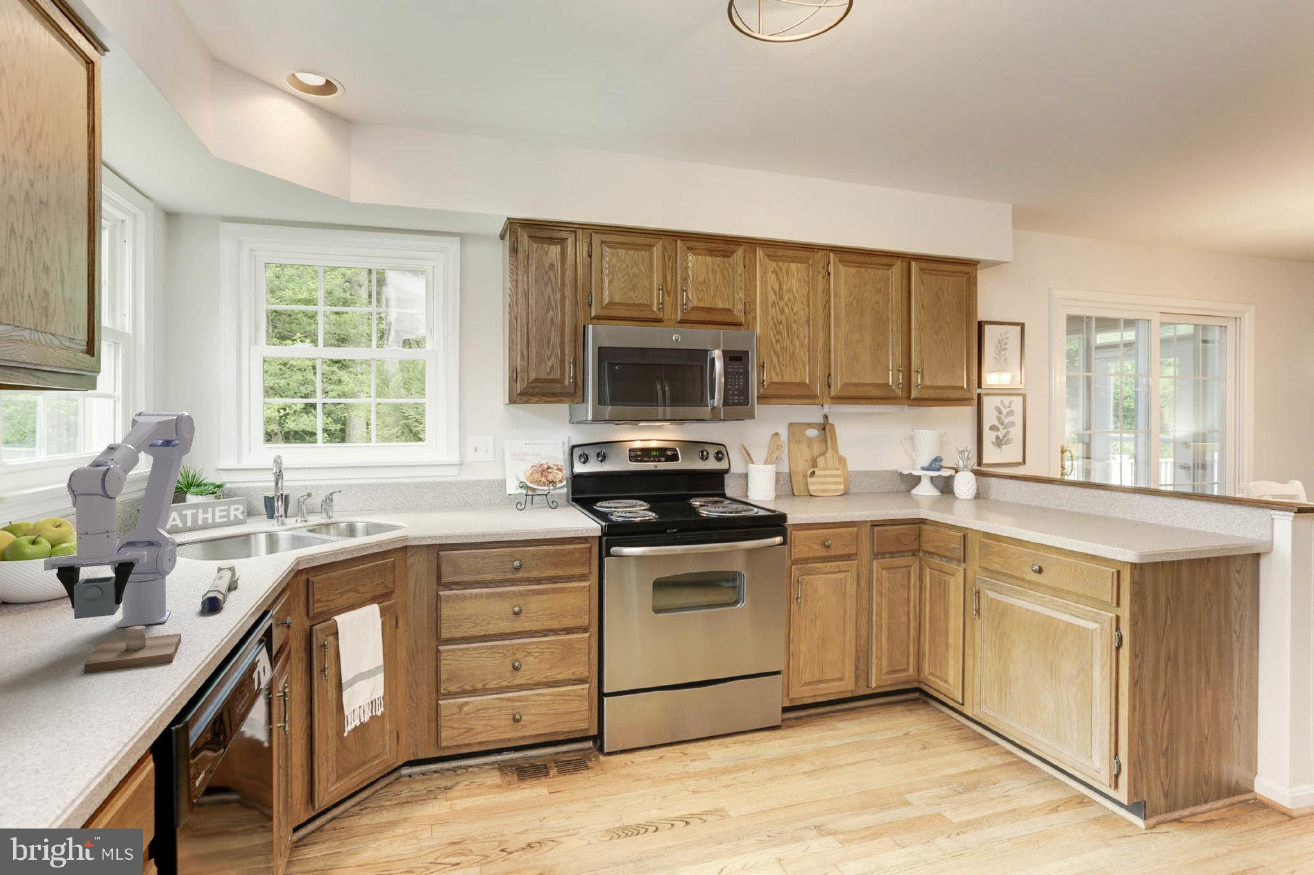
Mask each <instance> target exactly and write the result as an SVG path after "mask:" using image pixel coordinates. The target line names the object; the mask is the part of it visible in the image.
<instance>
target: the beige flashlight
mask: <svg viewBox="0 0 1314 875" xmlns="http://www.w3.org/2000/svg"><path fill="white" fill-rule="evenodd" d="M216 570H217V572H216V575H215V576H214V577H213V581H212V582H211V585H210V586H209V587H208V589H207V590H206V592H204V594H203V595H201V602H200V606H201V608H200V609H201V611H202V612H204V613H217V612H219V611H220V610H221V609H222V607H223V605H225V603H227V602H226V601H227V600H226V599H227V598H226V597H227V593H228V591H231V590H234V589H236V588H237V589H238V587H239V580H240V574H239V573H237V572H236V566H235V564H234V562H233V563H232V562H224V563H221V564H219V565H218V567H217V569H216Z"/></svg>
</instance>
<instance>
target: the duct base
mask: <svg viewBox="0 0 1314 875" xmlns="http://www.w3.org/2000/svg"><path fill="white" fill-rule="evenodd" d="M146 631H147V630H146V626H145V625H137V626H129V627H127V628H126V629H125V639H120V640H111V641H105V642H99V644H98V645H97V647H96V648H95V649H94V651H93V652H92V653H91V655H90V656H89V657H88V659H87V660H86V661H85V662H84V665H83V666H84V667H83V669H84V670H83V671H84V674H90V673H97V672H104V671H105V672H106V671H112V670H113V671H114V670H121V669H128V668H137V667H143V666H151V665H158V664H159V665H160V664H167V663H173V661H174V659H175V657H176V654H177V652H178V649H179V647H180V645H181V644H182V643H181V642H182V633H173V634H165V635H164V634H163V635H156V636H146V634H147V632H146Z"/></svg>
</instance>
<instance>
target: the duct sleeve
mask: <svg viewBox="0 0 1314 875" xmlns="http://www.w3.org/2000/svg"><path fill="white" fill-rule="evenodd" d="M115 595H116V580H115V575H111V576H102V577H101V576H100V577H99V576H98V577H87V578H81V579H79V582H77V583H76V584H75V585H74V609H73V613H74V614H73V615H74V616H73V617H74V618H73V619H74V620H78V619H88V618H99V617H106V616H107V617H108V616H114V615H115V614H116V613H117V612H118V610H119V609H120V608H121V604H118V605H116V602H115Z"/></svg>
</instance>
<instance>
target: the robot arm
mask: <svg viewBox="0 0 1314 875" xmlns="http://www.w3.org/2000/svg"><path fill="white" fill-rule="evenodd" d="M130 427H131V428H130V431H129V432H128V433H127V434H126V435H125V437H124V438H123V439H122V440H121V441H120V442H118V443H117V442H116V443H109V444H108V445H107V447H106V448H104V450H103V451H101V453H99V455H97V456H96V457H95V458H94V459H93V460H92V461H91V462H90V463H88V465H87V466H79V467H78V468H76V469H74V470H73V471H72V472H71V473H70V474H69V477H68V481H67V482H66V488H67V492H68V493H69V495H70V499H71V506H72V507H73V508H75V528H76V531H75V532H76V536H75V537H76V538H75V539H76V554H74V555H66V556H57V557H56V556H55V557H46V558H45V559H44V560H43V571H53V570H57V571H56V573H55V575H56V576H55V577H56V578H57V579H58V581H59V582H60V583H61V584H62V586H63V588H64V590H65V591H66V593H67V596H68V598H69V601H70V604H71V609H72V610H74V585H75V584H76V583H77V582H79V581H80V578H81V577H80V575H81V568H89V567H102V566H110V570H111V572H112V574H113V576H115V580H116V595H115V602H116V605H118V604H120V605H122V610H121V613H122V618H121V619H120V621H119V622H118V623H117V625H116V628H125V627H127V628H129V627H134V626H145V625H154V624H163V623H166V622H167V621H168V619H169V616H170V615H171V612H172V608H167V579H166V578H167V577H168V576H169V575H170V574H171V573H172V572H173V571H174V569H175V567H176V564H177V547H178V542H177V541H176V539H175V538H174V537H173V536H171V535H170V534H168V533H167V532H166V530H167V525H168V520H169V516H170V511H171V507H172V503H173V499H174V495H175V490H176V486H177V482H178V478H179V473H180V469H181V466H182V462H183V457H185V456H186V455H187V454H190V452H191V448H192V446H193V441H194V438H195V432H196V428H195V422H194V419H193V416H192V415H191V414H190V413H188V412H186V411H182V412H159V411H158V412H157V411H156V412H154V411H153V412H152V411H151V412H150V411H144V410H143V411H138V412H137V413H136V414H135V415H134V416H133V417H132V418H131V426H130ZM142 452H143V453H144V454H146V455H149V456H151V458H152V464H151V467H150V471H149V475H148V479H147V483H146V486H145V491H144V495H143V498H142V503H141V507H140V509H139V513H138V518H137V521H136V524H135V528H134V529H133V530H131V531H128V533H126V534H124V535H123V536H122V537H120V538H119V539H117V536H118V534H117V497H118V496H120V495H121V494H122V492H123V489H124V485H125V483H126V481H127V476H128V475H129V474H130V473H131V472H132V471H133V470H134V468H135V467H136V466H137V465H138V464H139V461H140V456H139V454H140V453H142ZM117 540H119V541H118V542H117Z"/></svg>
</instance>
